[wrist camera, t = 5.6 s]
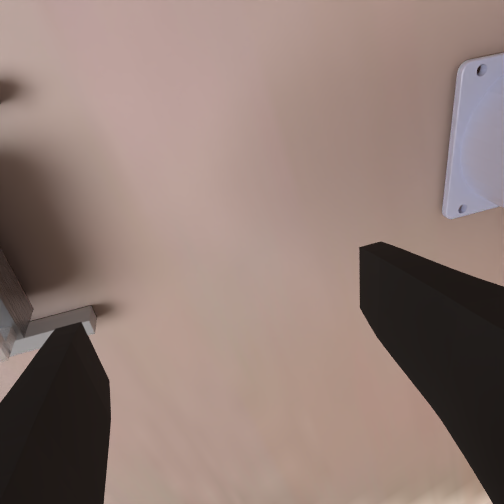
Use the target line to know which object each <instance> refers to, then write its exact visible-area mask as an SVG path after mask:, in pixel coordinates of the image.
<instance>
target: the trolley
mask: <svg viewBox="0 0 504 504" xmlns="http://www.w3.org/2000/svg"><path fill="white" fill-rule="evenodd" d="M33 310H34V309H33V307H32V305H31V303H30V301H29V299H28V298H27V296H26V294H25V292H24V290H23V288H22V286H21V285H20V283H19V281H18V279H17V277H16V275H15V274H14V272H13V270H12V268H11V266H10V264H9V263H8V261H7V259H6V257H5V255H4V253H3V252H2V250H1V248H0V362H4V361H7V360H8V359H9V357H10V354H11V351H12V348H13V346H14V343H15V341H16V340H20V339H24V337H25V334H26V331H27V328H28V325H29V322H30V319H31V316H32V313H33Z"/></svg>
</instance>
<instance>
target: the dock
mask: <svg viewBox="0 0 504 504" xmlns="http://www.w3.org/2000/svg"><path fill="white" fill-rule="evenodd" d="M0 104H1V103H0ZM96 320H97V317H96V315H95V313H94V311H93V308H92V306H87V307H84V308H80V309H76V310H72V311H68V312H65V313H61V314H57V315H53V316H50V317H46V318H42V319H38V320H34V321H31V322H29V325H28V328H27V331H26V334H25V337H24V339H20V340H16V341H15V343H14V346H13V348H12V351H11V354H10V357H11V356H14V355H18V354H22V353H25V352H29V351H33V350H36V349H40V348H41V347H42V346H43V344H44V343H45V341H46V340H47V339H48V337H49V336H50V335H51V333H52V332H53V331H54V330H55V329H56V328H60V327H63V326H67V325H71V324H75V323H78V322H82V324H83V326H84V328H85V330H86V333H87V335H91V334H95V329H96Z"/></svg>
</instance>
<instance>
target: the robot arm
mask: <svg viewBox="0 0 504 504" xmlns="http://www.w3.org/2000/svg"><path fill="white" fill-rule="evenodd" d="M480 65H481V69H480V72H479V73H478V74H477V69H478V67H479V66H480ZM461 205H462V207H461V208H460V209H459V207H460V206H461ZM500 206H501V207H503V208H504V52H503V53H498V54H493V55H489V56H484V57H479V58H474V59H469V60H466V61H464V62H463V63H462V64H461V65H460V67H459V69H458V72H457V79H456V88H455V98H454V107H453V116H452V125H451V134H450V143H449V152H448V161H447V171H446V180H445V189H444V198H443V207H442V214H443V215H444V216H445V217H446V218H448V219H455V218H458V217H462V216H466V215H470V214H473V213H477V212H481V211H485V210H488V209H492V208H496V207H500ZM359 249H360V309H361V310H362V312H363V314H364V316H365V317H366V319H367V321H368V323H369V325H370V326H371V328H372V329H373V331H374V333H375V334H376V336H377V338H378V339H379V340H380V342H381V343H382V344H383V346H384V347H385V348H386V350H387V351H388V352H389V353H390V355H391V356H392V357H393V359H394V360H395V361H396V362H397V364H398V365H399V366H400V367H401V369H402V370H403V371H404V372H405V374H406V375H407V376H408V378H409V379H410V380H411V381H412V383H413V384H414V385H415V386H416V388H417V389H418V390H419V391H420V393H421V394H422V395H423V396H424V398H425V399H426V400H427V402H428V403H429V404H430V405H431V407H432V408H433V409H434V411H435V412H436V414H437V415H438V416H439V418H440V419H441V421H442V422H443V424H444V425H445V427H446V428H447V430H448V431H449V433H450V434H451V436H452V438H453V439H454V441H455V442H456V444H457V445H458V447H459V449H460V450H461V452H462V453H463V455H464V456H465V458H466V460H467V461H468V463H469V465H470V466H471V468H472V469H473V471H474V473H475V474H476V476H477V478H478V479H479V481H480V483H481V484H482V486H483V488H484V489H485V491H486V492H487V494H488V496H489V498H490V499H491V501H492V503H493V504H504V287H503V286H500V285H497V284H494V283H491V282H488V281H485V280H482V279H479V278H476V277H473V276H471V275H468V274H465V273H462V272H459V271H457V270H454V269H451V268H449V267H446V266H444V265H441V264H439V263H436V262H433V261H431V260H428V259H426V258H423V257H421V256H418V255H416V254H413V253H411V252H408V251H406V250H403V249H401V248H398V247H395V246H393V245H390V244H387V243H384V242H377V243H374V244H370V245H366V246H362V247H359ZM110 424H111V407H110V386H109V379H108V377H107V375H106V373H105V370H104V368H103V366H102V364H101V362H100V360H99V358H98V356H97V354H96V352H95V349H94V347H93V345H92V343H91V341H90V339H89V337H88V335H87V333H86V330H85V328H84V326H83V324H82V322H78V323H75V324H71V325H67V326H63V327H60V328H56V329H55V330H54V331H53V332H52V333H51V335H50V336H49V337H48V339H47V340H46V341H45V343H44V344H43V346H42V347H41V348H40V350H39V351H38V353H37V354H36V355H35V357H34V358H33V359H32V361H31V362H30V364H29V365H28V366H27V368H26V369H25V371H24V372H23V373H22V375H21V376H20V377H19V379H18V380H17V381H16V383H15V384H14V385H13V387H12V388H11V389H10V391H9V392H8V393H7V395H6V396H5V397H4V399H3V400H2V401H1V403H0V504H103V503H104V492H105V481H106V470H107V460H108V448H109V437H110Z"/></svg>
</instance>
